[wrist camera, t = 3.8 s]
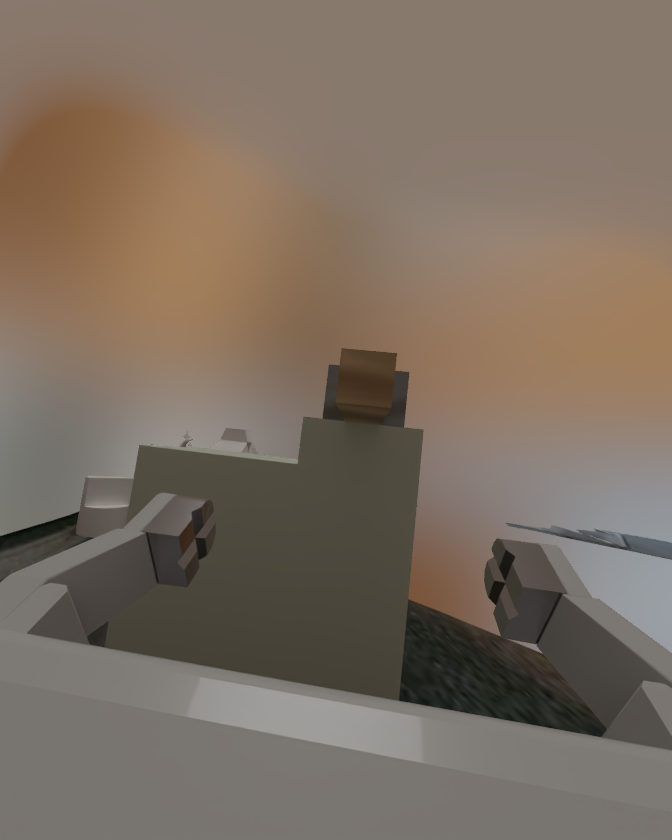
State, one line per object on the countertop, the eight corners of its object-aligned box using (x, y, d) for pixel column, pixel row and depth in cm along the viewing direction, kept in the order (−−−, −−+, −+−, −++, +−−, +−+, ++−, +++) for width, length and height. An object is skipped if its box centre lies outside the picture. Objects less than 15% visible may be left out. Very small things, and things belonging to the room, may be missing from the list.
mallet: (439, 413, 18) (448, 303, 18) (289, 397, 18) (303, 292, 19) (396, 436, 38) (401, 384, 39) (327, 428, 39) (333, 378, 40)
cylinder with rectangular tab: (79, 539, 68) (90, 479, 69) (72, 528, 74) (82, 474, 75) (129, 534, 74) (138, 480, 75) (118, 525, 80) (127, 475, 82)
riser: (391, 776, 25) (423, 429, 27) (92, 716, 27) (147, 399, 29) (382, 672, 37) (404, 437, 39) (174, 636, 39) (208, 415, 41)
